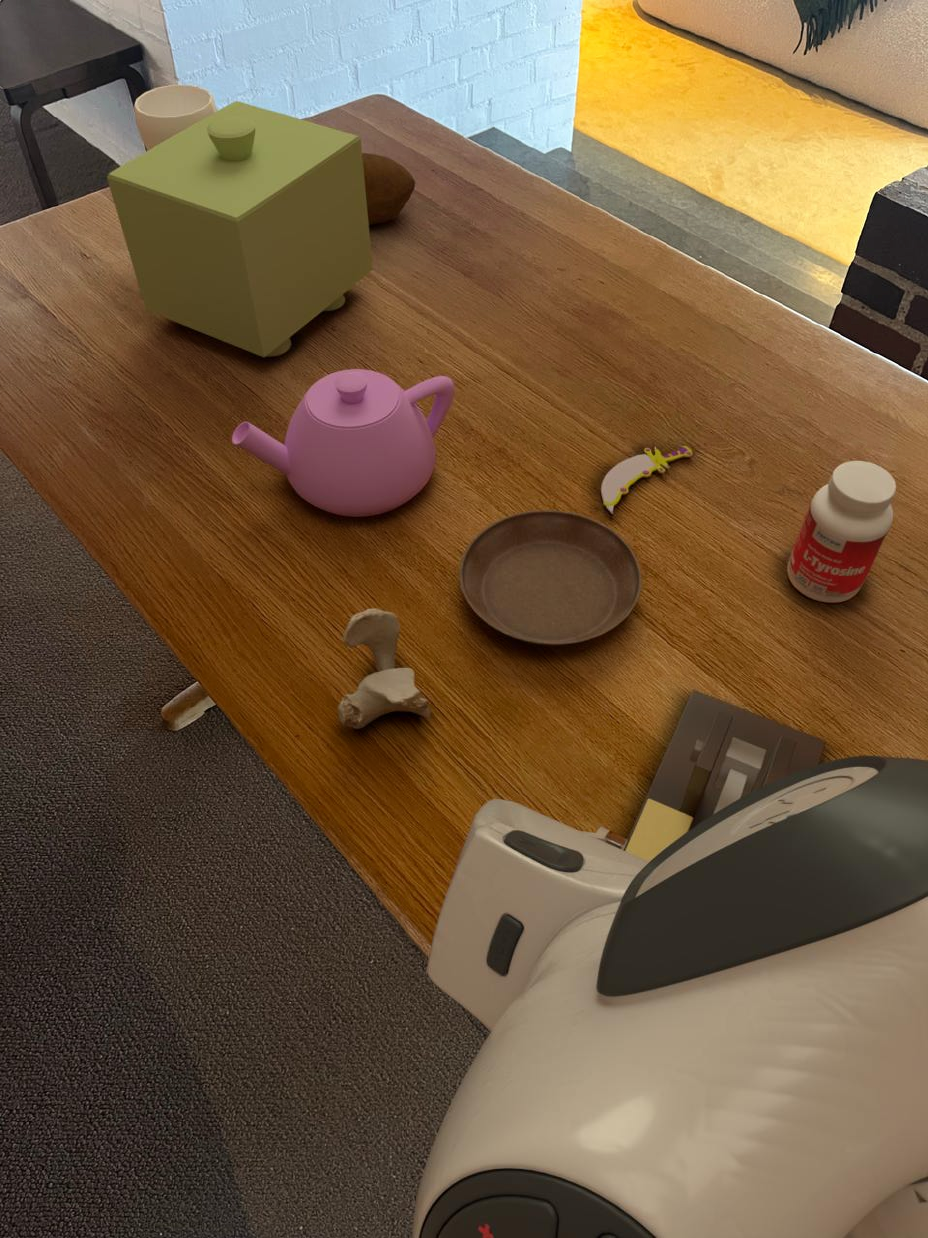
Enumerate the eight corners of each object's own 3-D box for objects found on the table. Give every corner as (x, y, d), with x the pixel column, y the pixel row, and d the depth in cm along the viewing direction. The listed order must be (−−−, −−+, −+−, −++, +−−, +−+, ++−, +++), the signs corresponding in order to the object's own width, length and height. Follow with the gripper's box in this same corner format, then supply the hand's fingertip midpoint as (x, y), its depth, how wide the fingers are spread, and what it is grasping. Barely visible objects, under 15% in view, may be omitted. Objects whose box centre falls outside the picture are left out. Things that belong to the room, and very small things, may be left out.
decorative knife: (577, 486, 88) (612, 516, 85) (577, 482, 88) (613, 512, 85) (670, 437, 92) (707, 464, 89) (671, 433, 92) (708, 460, 89)
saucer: (462, 528, 85) (462, 506, 83) (630, 531, 84) (634, 509, 82) (456, 662, 75) (456, 641, 73) (644, 666, 75) (649, 645, 73)
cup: (181, 218, 119) (147, 80, 107) (252, 222, 118) (226, 84, 106) (157, 256, 114) (118, 116, 101) (230, 262, 113) (200, 120, 100)
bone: (414, 767, 68) (341, 664, 63) (349, 765, 72) (276, 668, 67) (465, 682, 73) (402, 581, 68) (402, 685, 77) (338, 590, 72)
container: (268, 377, 99) (230, 187, 83) (151, 329, 104) (95, 143, 89) (374, 289, 109) (358, 104, 93) (263, 249, 114) (230, 69, 99)
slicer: (739, 1001, 59) (783, 936, 51) (589, 929, 62) (607, 856, 54) (820, 751, 70) (867, 663, 62) (689, 700, 73) (717, 610, 65)
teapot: (234, 453, 91) (210, 359, 83) (433, 409, 95) (429, 315, 87) (262, 553, 83) (238, 460, 75) (479, 500, 87) (480, 405, 79)
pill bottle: (779, 593, 80) (816, 496, 71) (792, 543, 83) (828, 445, 75) (856, 614, 78) (903, 517, 70) (865, 562, 82) (911, 464, 73)
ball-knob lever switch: (720, 923, 47) (741, 873, 46) (658, 896, 48) (678, 845, 47) (759, 790, 60) (777, 747, 59) (710, 770, 61) (727, 727, 60)
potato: (309, 213, 120) (300, 151, 114) (401, 193, 123) (398, 131, 117) (330, 245, 115) (322, 181, 109) (425, 223, 118) (423, 160, 112)
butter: (769, 891, 62) (789, 857, 58) (746, 960, 59) (765, 929, 55) (637, 833, 64) (648, 797, 61) (610, 897, 62) (619, 863, 58)
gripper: (1009, 1072, 30) (945, 922, 43) (438, 810, 36) (533, 747, 49) (931, 1239, 31) (891, 1043, 44) (388, 957, 37) (494, 858, 50)
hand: (699, 886), depth 47 cm, fingers open, 8 cm apart
